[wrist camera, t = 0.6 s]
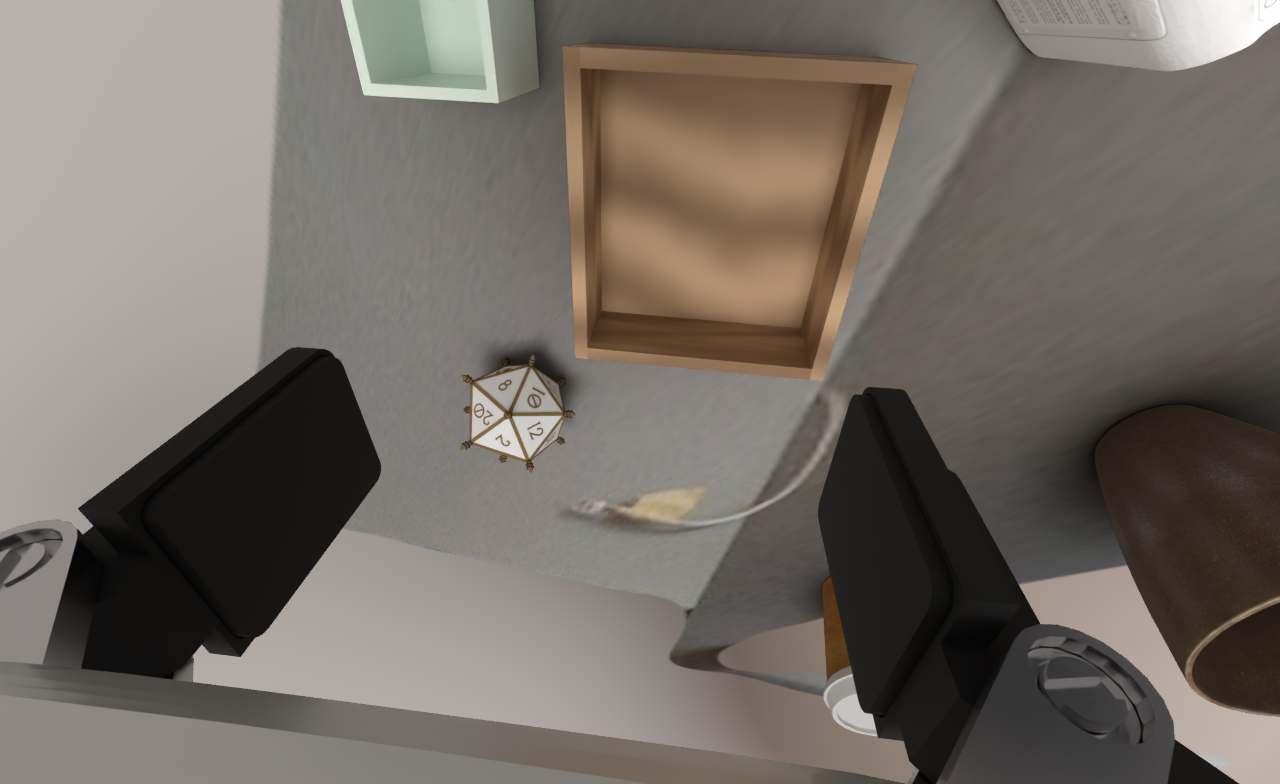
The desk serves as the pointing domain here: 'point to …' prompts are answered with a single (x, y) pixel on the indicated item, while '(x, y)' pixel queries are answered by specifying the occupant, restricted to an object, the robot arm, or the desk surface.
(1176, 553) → the plant pot
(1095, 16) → the photo printer
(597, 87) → the big crate
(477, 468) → the desk surface
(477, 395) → the game die
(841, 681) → the disposable coffee cup
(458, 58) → the box
